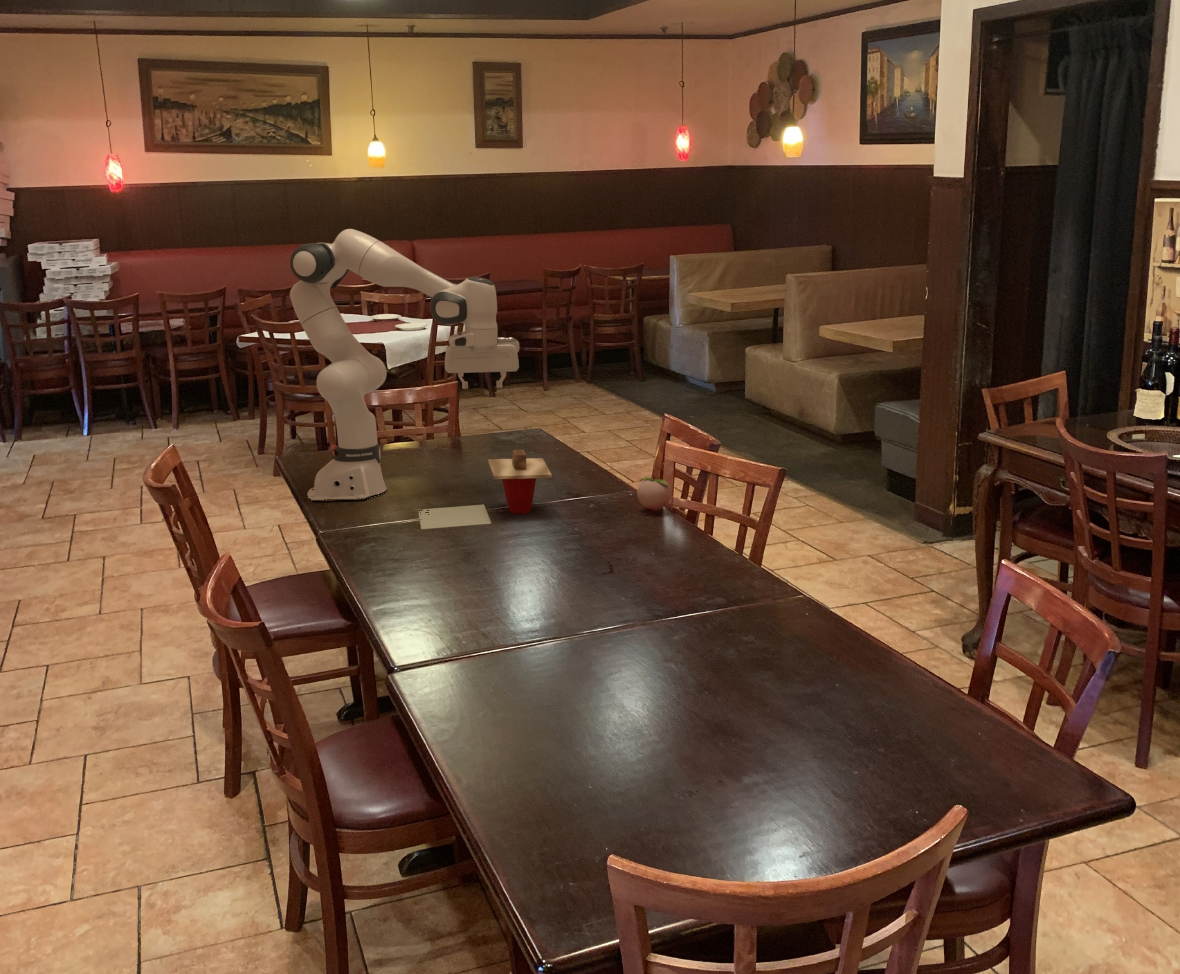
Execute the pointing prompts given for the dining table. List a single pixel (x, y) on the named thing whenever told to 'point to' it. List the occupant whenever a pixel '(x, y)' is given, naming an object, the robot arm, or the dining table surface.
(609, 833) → the dining table surface
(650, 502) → the decorative fruit
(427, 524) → the mat
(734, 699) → the dining table surface
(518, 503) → the plastic cup
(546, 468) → the lid
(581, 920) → the dining table surface
